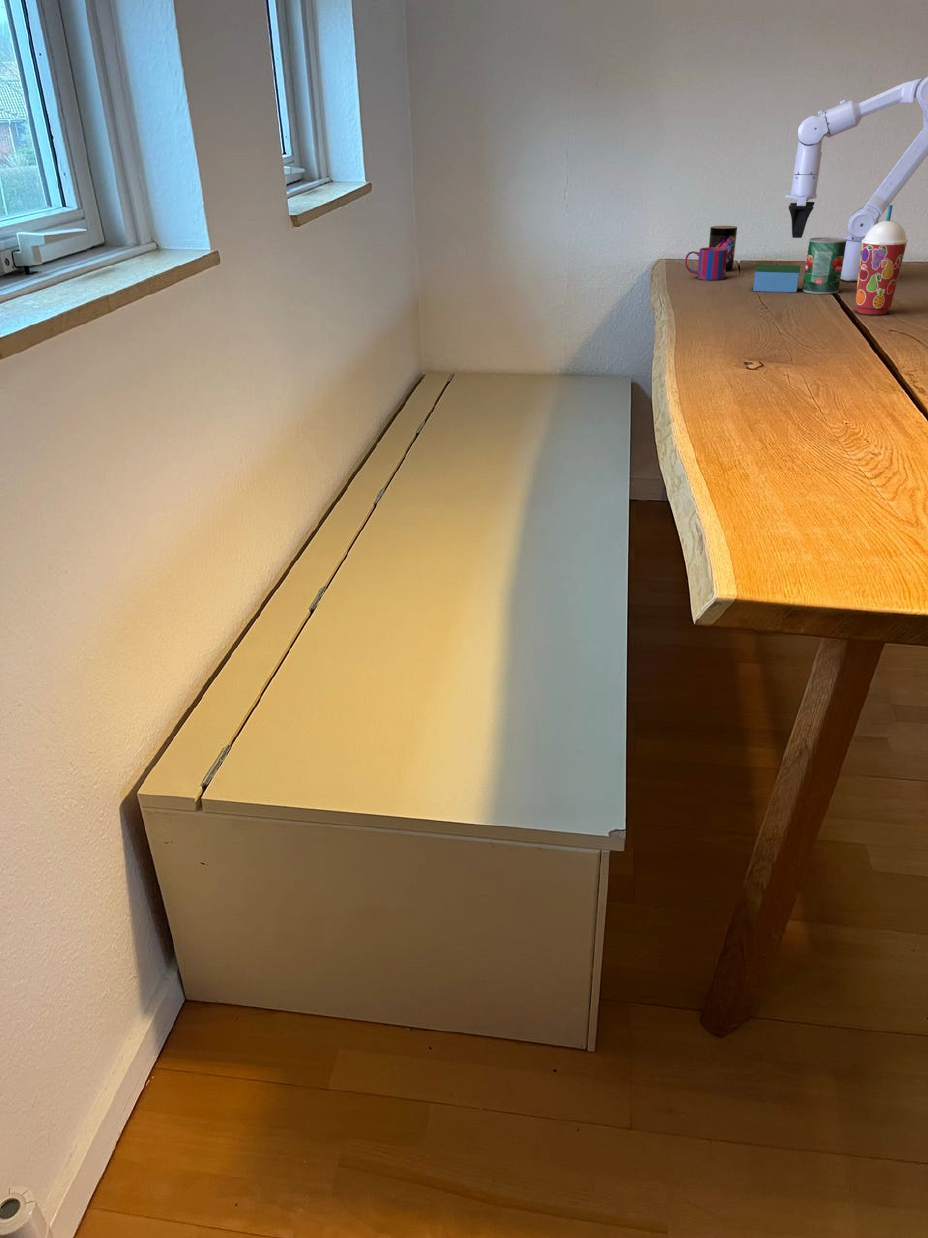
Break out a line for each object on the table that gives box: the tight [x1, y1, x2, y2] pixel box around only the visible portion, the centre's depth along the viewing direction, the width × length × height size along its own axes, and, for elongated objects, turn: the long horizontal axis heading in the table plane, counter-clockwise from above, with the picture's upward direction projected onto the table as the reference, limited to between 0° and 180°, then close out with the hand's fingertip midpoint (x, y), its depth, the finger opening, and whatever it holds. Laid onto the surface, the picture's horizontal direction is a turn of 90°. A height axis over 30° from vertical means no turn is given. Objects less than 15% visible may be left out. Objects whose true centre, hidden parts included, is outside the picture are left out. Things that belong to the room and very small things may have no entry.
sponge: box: [752, 264, 801, 293], centre depth 213 cm, size 10×5×5 cm, turn 71°
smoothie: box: [854, 204, 909, 316], centre depth 184 cm, size 8×8×20 cm
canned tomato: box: [801, 236, 847, 295], centre depth 209 cm, size 8×8×11 cm
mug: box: [684, 246, 728, 281], centre depth 230 cm, size 7×10×7 cm
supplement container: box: [708, 225, 738, 272], centre depth 240 cm, size 7×7×10 cm
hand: (797, 235), depth 226 cm, fingers open, 7 cm apart
